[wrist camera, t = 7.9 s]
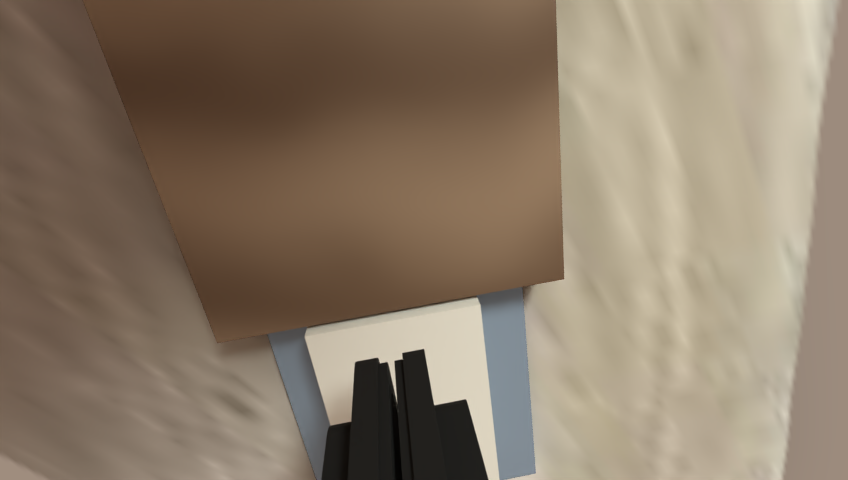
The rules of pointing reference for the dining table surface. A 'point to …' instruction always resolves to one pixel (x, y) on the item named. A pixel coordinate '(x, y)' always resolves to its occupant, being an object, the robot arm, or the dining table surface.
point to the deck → (345, 149)
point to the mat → (504, 377)
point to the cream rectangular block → (403, 332)
